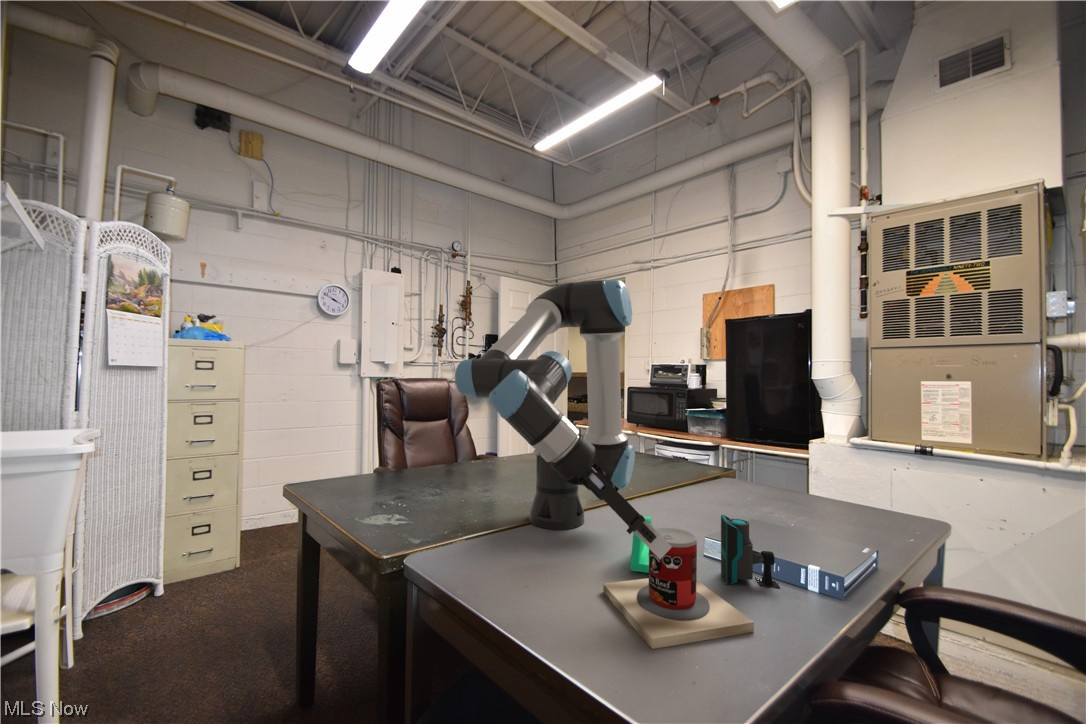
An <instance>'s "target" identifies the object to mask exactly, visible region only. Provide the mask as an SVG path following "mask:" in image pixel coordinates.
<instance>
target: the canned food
mask: <svg viewBox="0 0 1086 724" xmlns="http://www.w3.org/2000/svg"><path fill="white" fill-rule="evenodd" d="M654 529H655V528H654ZM655 530H656V531H657V532H658V533H659V534H660V535H661V536H662V537H663V538H664V539H665V540H666V541H667V542H668V543H669V544H670V545H671V546H672V547H671V548H670V550H669V551H668V552H667V553H666V554H665V555H664V556H663V557H662V558H661V559H659V558H658V557H657V556H656V555H655V554H654V553H653V552H652V551H651V550H650V549H649V573H648V578H649V595H650V598H651V600H652V601H653V602H654V603H655V604H657V605H659V606H661V607H663V608H667V609H672V610H685V609H688V608H691V607H692V606H693V605H694V604H695V601H696V580H697V577H698V575H697V569H698V568H697V567H698V566H697V564H698V563H697V558H698V543H697V542H698V541H697V536H696V535H695V534H694V533H692V532H689V531H687V530H684V529H679V528H673V527H663V528H656V529H655Z"/></svg>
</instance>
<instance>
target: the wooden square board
mask: <svg viewBox="0 0 1086 724" xmlns="http://www.w3.org/2000/svg"><path fill="white" fill-rule="evenodd" d="M603 591H604V592H603ZM602 592H603V593H604V595H605V594H606V595H607V596H608V597H609V598H608V597H607V596H606V595H605V596H606V597H607V598H608V599H609V601H610V602H611V601H612V602H613V603H614V604H613V603H612V602H611V603H612V604H613V605H614V607H616V608H618V609H617V610H618V611H619V612H620V614H622V615H624V616H623V617H624V618H625V619H626V621H628V622H629V624H630V625H631V626H632V628H633V629H634V630H635V631H636V632H637V633H638V634H639V635H640V637H641V638H642V639H643V640H644V641H645V643H646V644H647V645H648V646H649V647H650V648H651V649H652V650H654V649H659V648H661V649H662V648H666V647H673V646H679V645H683V644H691V643H696V642H701V641H706V640H707V641H708V640H713V639H714V640H715V639H718V638H719V639H720V638H725V637H730V636H737V635H742V634H743V635H744V634H748V633H755V622H754V621H753V620H752V619H750V618H749V617H747V616H746V615H745V614H743V613H742V612H741V611H739V610H738V609H737V608H735V607H734V606H733V605H731V604H730V603H729V602H727V601H726V600H725V599H724V598H722V597H720V596H719V595H718V594H716V593H715V592H714V591H712V590H711V589H709V588H708V587H707V586H705V585H704V584H703V583H701V582H700V581H699V580H697V579H696V601H695V604H694V605H693V606H692V607H691V608H688V609H685V610H672V609H667V608H663V607H661V606H659V605H657V604H655V603H654V602H653V601H652V600H651V598H650V595H649V577H648V578H640V579H639V578H638V579H631V580H624V581H615V582H607V583H603V585H602Z"/></svg>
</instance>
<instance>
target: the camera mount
mask: <svg viewBox="0 0 1086 724" xmlns="http://www.w3.org/2000/svg"><path fill="white" fill-rule="evenodd" d="M642 516H643V517H644V518H645V519H646V520H647V521H648V523H649V524H650V525H651V526H652V524H653V522H652V521H653V519H652V516H645V515H642ZM652 527H653V526H652ZM630 571H635V572H641V573H646V574H647V573H648V574H649V548H648V547H647V546H646V545H645V544H644V543H643V542H642V541H641V540H640V538H639V537H638V536H637V535H636V534H635V533H634V532H632V545H631V557H630Z"/></svg>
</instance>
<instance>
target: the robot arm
mask: <svg viewBox="0 0 1086 724" xmlns="http://www.w3.org/2000/svg"><path fill="white" fill-rule="evenodd" d="M632 308H633V307H632V301H631V297H630V293H629V290H628V288H627V286H626V284H625V282H623V281H622V280H619V279H600V280H598V279H597V280H587V281H577V282H564V283H560V284H558V285H556V286H553V287H551V288H549V289H548V290H545V291H544V292H542V293H541V294H540V295H538V296H536V298H534V299H533V300H532V301H531V302H530V303H529V304H528V305H527V308H526V309H525V310H526V311H525V313H524V315H522V316H521V318H519V319H518V320H517V321H516V322H515V323H514V324H513V325H512V326H511V327H510V328H508V330H507V331H506V332H505V333H504V334H503V335H502V336H500V338H499V339H498V340H497V341H496V342H495V343H494V344H493V345H491V347H490V348H489V349H488V350H487V351H486V352H484V354H483V355H482V356H480V357H479V358H468V359H463V360H462V361H460V362H459V364H458V365H457V367H456V368H455V372H454V383H455V385H456V389H457V391H458V393H459V394H461V395H463V396H465V397H470V398H471V397H472V398H477V399H481V398H483V399H487V398H488V402H489V403H490V404H491V406H492V407H493V408H494V409H495V410H496V411H497V413H498V414H499V416H500V417H501V418H502V419H504V420H505V421H506V422H507V424H508V425H510V426H511V427H512V428H513V429H514V430H515V431H516V432H517V433H518V434H519V435H520V436H521V437H522V438H523V440H525V441H526V442H527V443H528V444H529V445H530V446H531V447H532V448H533V449H534V451H532V453H533V455H534V456H535V458H536V460H535V462H536V463H535V464H536V466H535V467H536V469H535V471H536V472H535V475H536V476H535V479H536V480H535V481H536V482H535V483H536V484H535V485H536V487H535V488H536V489H535V494H534V496H533V497H534V498H533V499H532V503H531V506H530V509H529V515H528V520H529V523H530V524H531V525H534V526H535V527H538V528H543V529H548V530H549V529H550V530H567V529H574V528H578V527H581V526H582V525H583V524H584V523H585V512H584V508H583V504H582V501H581V497H580V495H579V486H584V487H585V488H586V489H587V490H588V491H590V492H591V493H592V494H593V495H594V496H595V497H596V498H597V499H598V500H600V501H604V502H605V503H606V504H607V505H608V506H609V507H610V509H612V510H613V511H614V513H616V515H617V516H618V517H620V519H621V520H622V521H623V522H624V523H625V524H626V526H628V528H627V529H626V533H628V534H629V535H631V534H633V532H634V533H635V534H636V535H637V536H638V537H639V538H640V540H641V541H642V542H643V543H644V544H645V545H646V546H647V547H648V548H649V549H650V550H651V551H652V552H653V553H654V554H655V555H656V556H657V557H658V558H659V559H661V558H662V557H663V556H664V555H665V554H666V553H667V552H668V551H669V550H670V548H671V547H672V546H671V545H670V544H669V543H668V542H667V541H666V540H665V539H664V538H663V537H662V536H661V535H660V534H659V533H658V532H657V531H656V530H655V527H654V526H651V525H650V524H649V523H648V521H647V520H646V519H645V518H644V517H643V516H644V515H642V514H640V513H639V512H638V511H637V510H636V509H635V508H634V507H633V506H632V504H630V503H629V502H628V501H627V499H625V497H624V496H622V495H621V494H620V492H618V491H620V490H625V489H626V488H627V487H628V485H629V484H630V482H631V479H632V475H633V471H634V466H635V459H636V451H635V448H636V447H635V446H634V445H632V444H631V443H629V442H628V440H629V439H628V438H629V437H628V435H626V434H625V433H624V431H623V430H622V397H621V396H622V392H621V387H622V386H621V353H620V351H621V350H620V346H621V344H620V341H621V338H622V337H623V336H624V335H625V334H626V327H629V326H630V325H631V324H632V322H633V309H632ZM563 328H579V335H580V336H581V337H582V338H583V339H584V341H585V351H586V352H585V353H586V357H585V358H586V359H585V360H586V384H587V386H586V387H587V390H586V391H587V416H588V417H587V418H588V420H587V421H588V423H587V424H588V431H587V432H586V433H585V434H579V433H580V431H579V428H577V427H576V425H574V424H573V423H572V421H570V419H569V418H567V416H566V415H565V414H564V413H562V412H561V410H559V409H558V408H557V407H556V405H555V403H556V402H557V400H558V399H559V397H560V396H561V395H562V393H563V392H564V391H565V390H566V389H567V387H568V384H569V381H570V380H571V379H572V373H573V369H572V368H573V367H572V364H571V362H570V361H569V359H568V358H567V357H566V356H565V355H563V354H562V353H561V352H558V351H553V350H549V351H545V352H544V353H542V354H540V355H539V356H537V357H536V359H535V358H534V359H533V358H532V359H531V358H530V357H531V356H532V354H533V353H534V352H535V351H536V350H537V348H538V347H540V345H541V344H542V343H543V341H544V340H545V339H546V338H547V337H548V336H549V335H551V334H553V333H556V332H557V331H558V330H559V329H563Z"/></svg>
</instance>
